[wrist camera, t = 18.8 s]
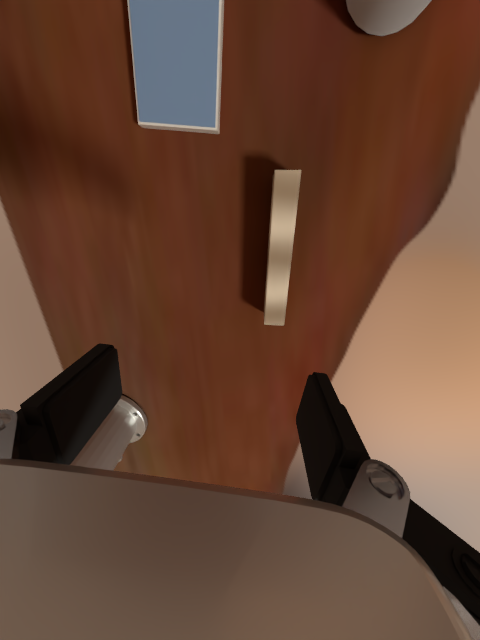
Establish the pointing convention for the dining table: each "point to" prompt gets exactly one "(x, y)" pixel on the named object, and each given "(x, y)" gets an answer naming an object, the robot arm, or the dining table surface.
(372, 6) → the can
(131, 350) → the dining table surface
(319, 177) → the dining table surface
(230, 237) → the dining table surface
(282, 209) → the cream wooden plank
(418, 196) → the dining table surface
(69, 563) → the robot arm
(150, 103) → the tile
